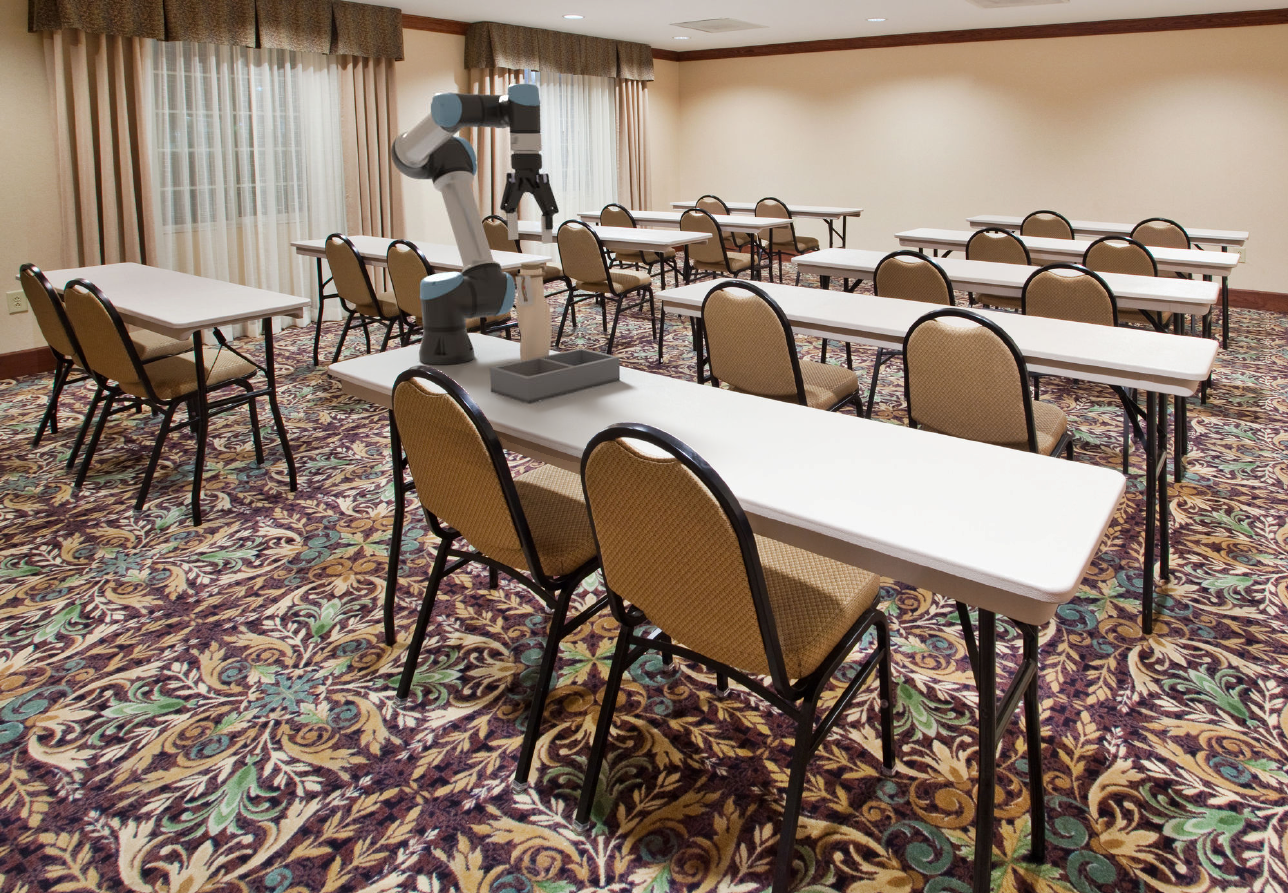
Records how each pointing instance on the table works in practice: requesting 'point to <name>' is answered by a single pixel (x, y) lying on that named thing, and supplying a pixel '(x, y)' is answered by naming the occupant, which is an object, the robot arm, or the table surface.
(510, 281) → the robot arm
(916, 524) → the table surface
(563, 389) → the bottle caddy
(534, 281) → the water bottle
